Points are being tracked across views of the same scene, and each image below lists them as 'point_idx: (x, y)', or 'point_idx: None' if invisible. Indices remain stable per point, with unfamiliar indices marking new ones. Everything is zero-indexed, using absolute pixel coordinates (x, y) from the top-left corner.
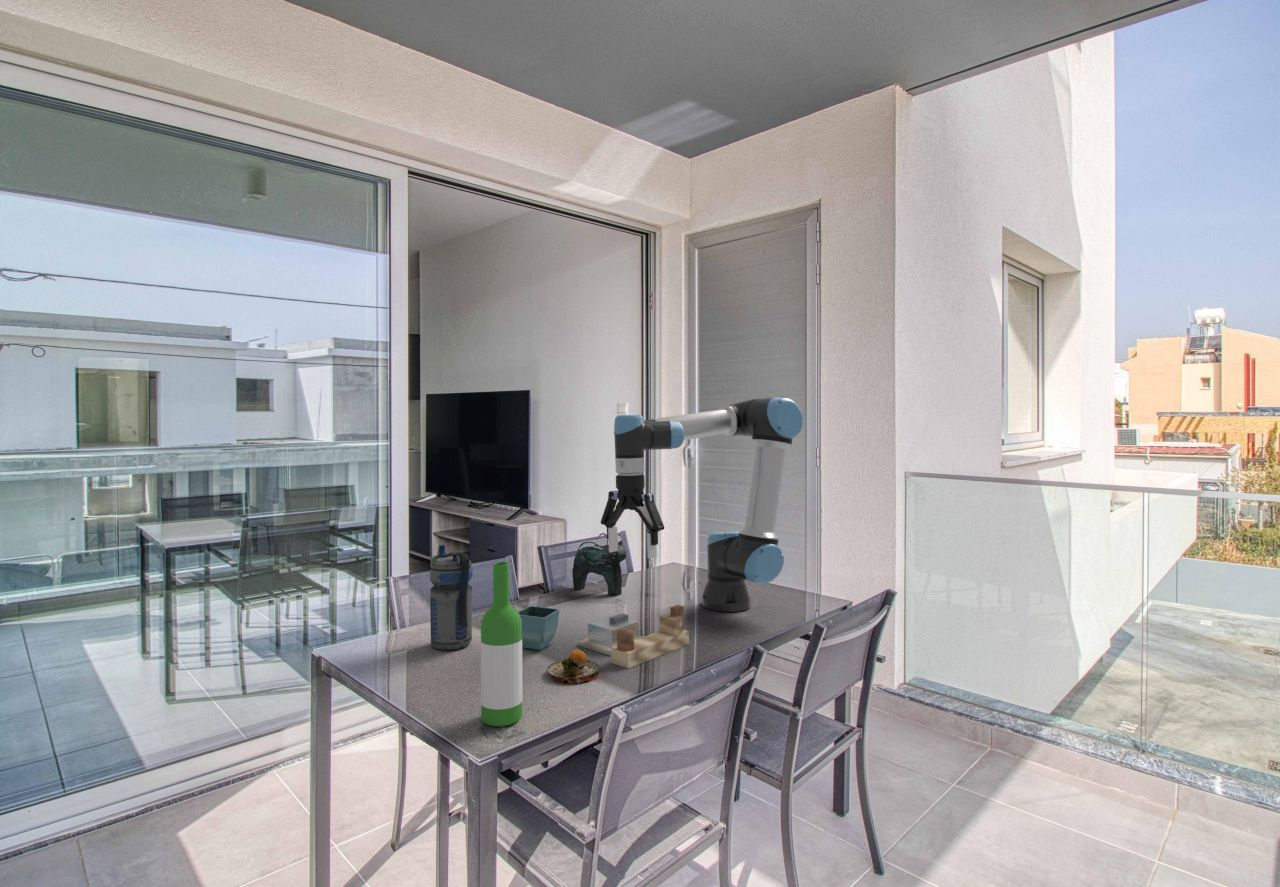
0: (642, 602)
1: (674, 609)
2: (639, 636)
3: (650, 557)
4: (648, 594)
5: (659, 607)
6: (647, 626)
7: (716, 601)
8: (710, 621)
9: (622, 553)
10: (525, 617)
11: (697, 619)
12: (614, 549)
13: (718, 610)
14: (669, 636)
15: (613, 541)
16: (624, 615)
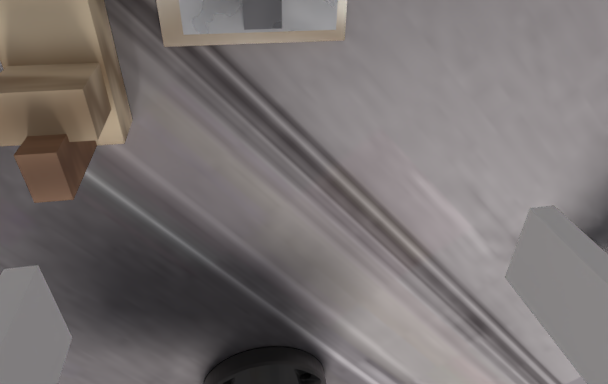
0: (453, 284)
1: (29, 150)
2: (208, 36)
3: (3, 283)
4: (476, 327)
5: (389, 286)
6: (300, 159)
7: (252, 373)
8: (198, 299)
9: None
10: None
11: (237, 288)
12: (527, 259)
13: (244, 353)
14: (6, 38)
15: (584, 311)
16: (248, 6)
